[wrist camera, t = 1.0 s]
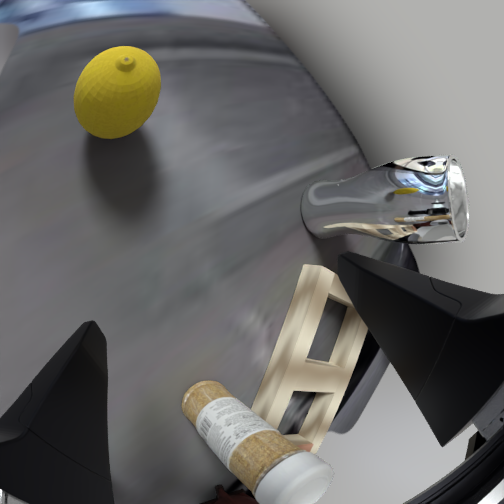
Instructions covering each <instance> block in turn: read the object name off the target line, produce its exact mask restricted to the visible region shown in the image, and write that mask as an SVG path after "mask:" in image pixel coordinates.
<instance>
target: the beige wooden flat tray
mask: <svg viewBox="0 0 504 504" xmlns="http://www.w3.org/2000/svg"><path fill="white" fill-rule="evenodd" d="M327 297H328V298H330V299H332V300H334V301H337V302H339V303H341V304H343V305H345V306H347V310H346V314H345V317H344V320H343V323H342V326H341V329H340V332H339V335H338V338H337V341H336V343H335V346H334V349H333V352H332V355H331V357H330V360H329V362H324V361H318V360H313V359H308V358H307V355H308V352H309V350H310V347H311V344H312V341H313V339H314V336H315V333H316V330H317V327H318V324H319V321H320V318H321V316H322V313H323V309H324V306H325V303H326V300H327ZM367 330H368V327H367V326H366V324H365V323H364V322H363V320H362V319H361V317H360V316H359V314H358V313H357V311H356V309H355V308H354V306H353V304H352V302H351V300H350V298H349V296H348V295H347V293H346V291H345V289H344V287H343V285H342V284H341V282H340V280H339V277H338V275H337V274H335V273H334V272H332V271H330V270H329V269H327V268H325V267H323V266H318V265H307V264H304V265H303V268H302V271H301V274H300V277H299V280H298V283H297V286H296V289H295V292H294V295H293V298H292V301H291V304H290V307H289V310H288V313H287V316H286V318H285V321H284V324H283V327H282V330H281V332H280V335H279V338H278V341H277V343H276V346H275V349H274V351H273V354H272V357H271V359H270V362H269V365H268V367H267V370H266V372H265V375H264V378H263V380H262V383H261V385H260V388H259V390H258V393H257V395H256V398H255V400H254V403H253V405H252V408H251V410H252V411H253V412H254V413H256V414H257V415H258V416H259V417H261V418H262V419H263V420H264V421H266V422H267V423H268V424H270V425H271V426H272V427H274V428H275V429H276V430H277V428H278V426H279V423H280V421H281V419H282V417H283V414H284V412H285V410H286V408H287V405H288V403H289V400H290V398H291V396H292V393H293V391H308V392H317V393H316V395H315V398H314V400H313V402H312V405H311V407H310V409H309V412H308V414H307V416H306V418H305V421H304V423H303V425H302V427H301V429H300V431H299V433H298V434H293V435H283V436H284V437H285V438H287V439H288V440H289V441H291V442H292V443H293V444H295V445H297V446H298V447H299V448H301V449H302V450H306V452H311V453H313V454H316V453H317V451H318V449H319V447H320V445H321V443H322V441H323V439H324V437H325V435H326V433H327V431H328V429H329V426H330V424H331V422H332V420H333V418H334V416H335V413H336V411H337V409H338V407H339V404H340V402H341V400H342V397H343V395H344V393H345V390H346V388H347V385H348V383H349V380H350V378H351V375H352V373H353V370H354V367H355V365H356V362H357V359H358V356H359V353H360V351H361V348H362V345H363V342H364V339H365V336H366V333H367Z"/></svg>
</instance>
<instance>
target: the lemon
mask: <svg viewBox="0 0 504 504" xmlns="http://www.w3.org/2000/svg"><path fill="white" fill-rule="evenodd" d="M160 89H161V79H160V72H159V69H158V66H157V64H156V62H155V61H154V60H153V58H152V57H151V56H150V55H149V54H147V53H146V52H145V51H143V50H141V49H138V48H134V47H130V46H120V47H114V48H111V49H108V50H106V51H104V52H102V53H100V54H99V55H97V56H96V57H94V58H93V59H92V60H91V61H90V62H89V64H88V65H87V66H86V67H85V68H84V70H83V72H82V74H81V75H80V77H79V79H78V81H77V84H76V88H75V93H74V109H75V113H76V116H77V118H78V121H79V123H80V124H81V125H82V126H83V128H84V129H85V130H86V131H88V132H89V133H91V134H92V135H94V136H97V137H100V138H105V139H114V138H120V137H123V136H126V135H128V134H130V133H132V132H134V131H135V130H136V129H138V128H139V127H141V126H142V125H143V123H144V122H145V121H146V120H147V119H148V118H149V117H150V115H151V114H152V112H153V110H154V108H155V106H156V104H157V102H158V98H159V93H160Z"/></svg>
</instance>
